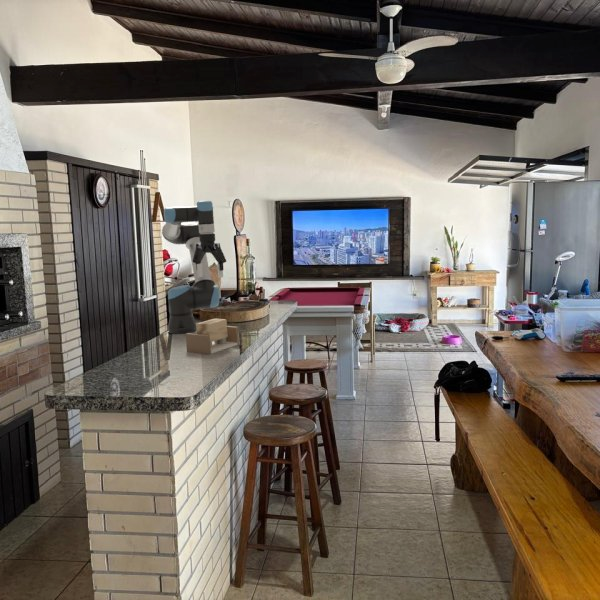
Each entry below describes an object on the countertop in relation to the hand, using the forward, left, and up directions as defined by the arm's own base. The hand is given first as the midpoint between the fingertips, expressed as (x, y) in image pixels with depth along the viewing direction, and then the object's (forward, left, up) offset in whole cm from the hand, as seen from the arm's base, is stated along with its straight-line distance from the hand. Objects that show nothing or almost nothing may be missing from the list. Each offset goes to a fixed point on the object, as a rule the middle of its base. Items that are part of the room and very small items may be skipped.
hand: (210, 277), depth 277 cm
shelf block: (+19, -21, -25) cm, 38 cm away
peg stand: (+19, -21, -29) cm, 40 cm away
